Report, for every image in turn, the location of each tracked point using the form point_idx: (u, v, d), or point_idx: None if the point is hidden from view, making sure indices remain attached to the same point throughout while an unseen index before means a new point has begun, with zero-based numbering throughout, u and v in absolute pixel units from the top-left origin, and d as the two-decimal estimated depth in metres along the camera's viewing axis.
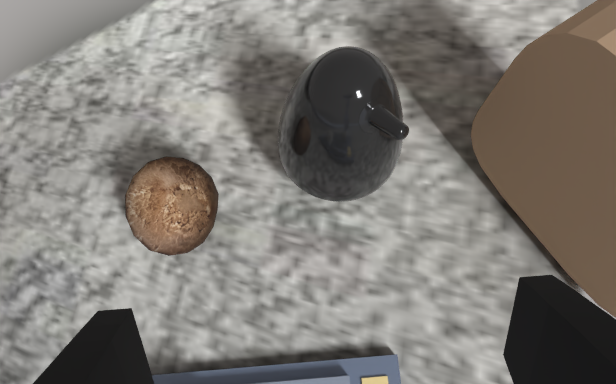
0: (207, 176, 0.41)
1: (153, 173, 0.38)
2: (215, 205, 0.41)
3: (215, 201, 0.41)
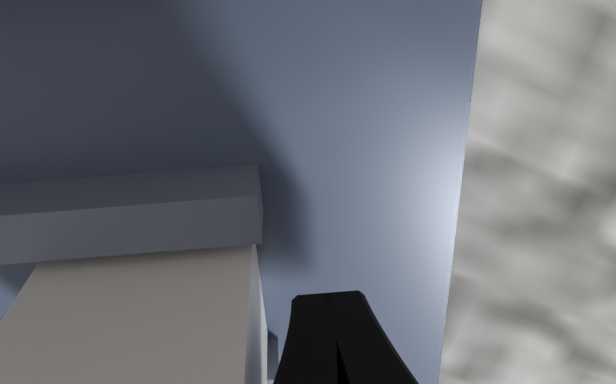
0: None
1: None
2: None
3: None
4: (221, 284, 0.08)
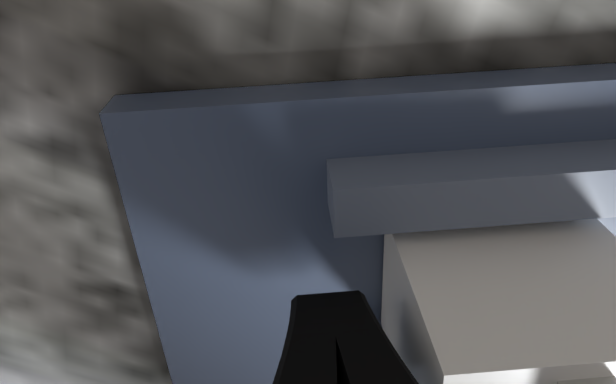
0: None
1: None
2: None
3: None
4: None
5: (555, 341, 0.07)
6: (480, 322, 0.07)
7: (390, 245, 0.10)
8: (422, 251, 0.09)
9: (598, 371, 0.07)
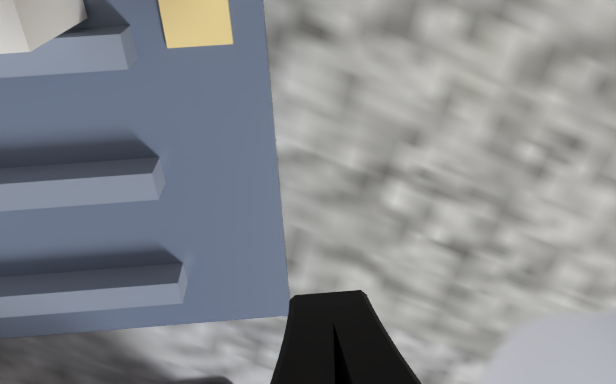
0: None
1: None
2: None
3: None
4: None
5: None
6: None
7: None
8: None
9: None
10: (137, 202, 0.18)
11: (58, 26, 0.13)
